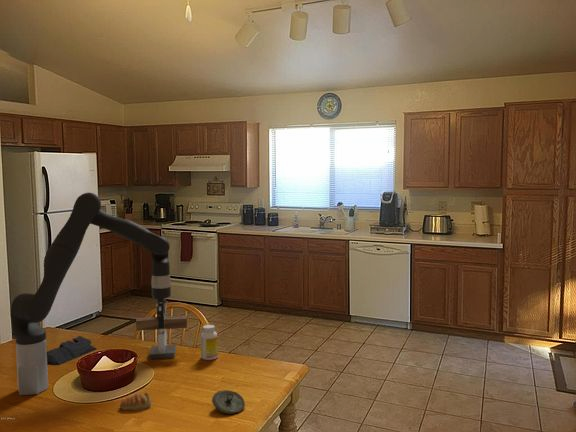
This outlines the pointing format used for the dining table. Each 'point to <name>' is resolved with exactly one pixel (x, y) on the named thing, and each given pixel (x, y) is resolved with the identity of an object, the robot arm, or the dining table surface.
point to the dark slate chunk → (70, 350)
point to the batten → (169, 323)
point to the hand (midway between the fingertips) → (162, 326)
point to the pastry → (136, 402)
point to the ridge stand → (162, 347)
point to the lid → (228, 402)
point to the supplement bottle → (209, 343)
